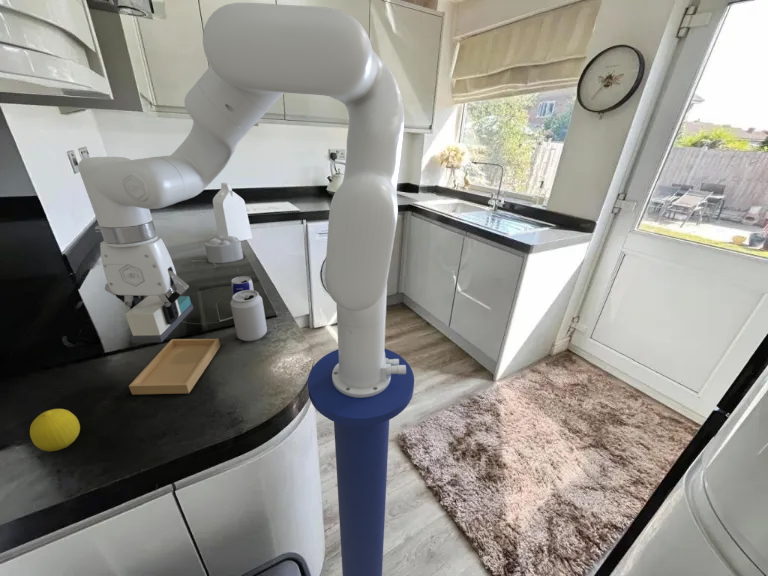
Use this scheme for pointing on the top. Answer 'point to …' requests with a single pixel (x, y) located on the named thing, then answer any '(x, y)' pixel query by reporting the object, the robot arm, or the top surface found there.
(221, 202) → the milk
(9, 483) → the top surface
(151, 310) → the sneaker
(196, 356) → the wooden tray
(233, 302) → the can
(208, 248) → the lumpy-topped squat cylinder
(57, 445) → the lemon
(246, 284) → the energy drink
